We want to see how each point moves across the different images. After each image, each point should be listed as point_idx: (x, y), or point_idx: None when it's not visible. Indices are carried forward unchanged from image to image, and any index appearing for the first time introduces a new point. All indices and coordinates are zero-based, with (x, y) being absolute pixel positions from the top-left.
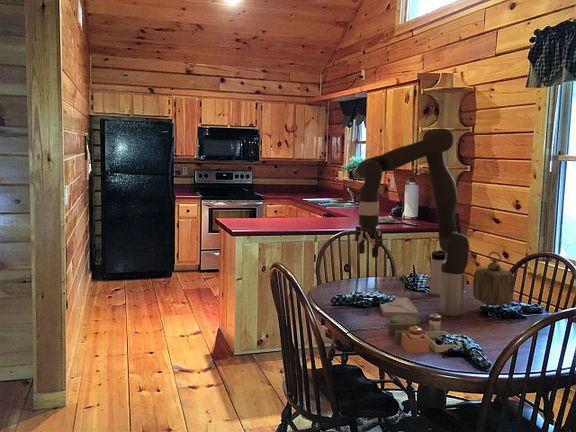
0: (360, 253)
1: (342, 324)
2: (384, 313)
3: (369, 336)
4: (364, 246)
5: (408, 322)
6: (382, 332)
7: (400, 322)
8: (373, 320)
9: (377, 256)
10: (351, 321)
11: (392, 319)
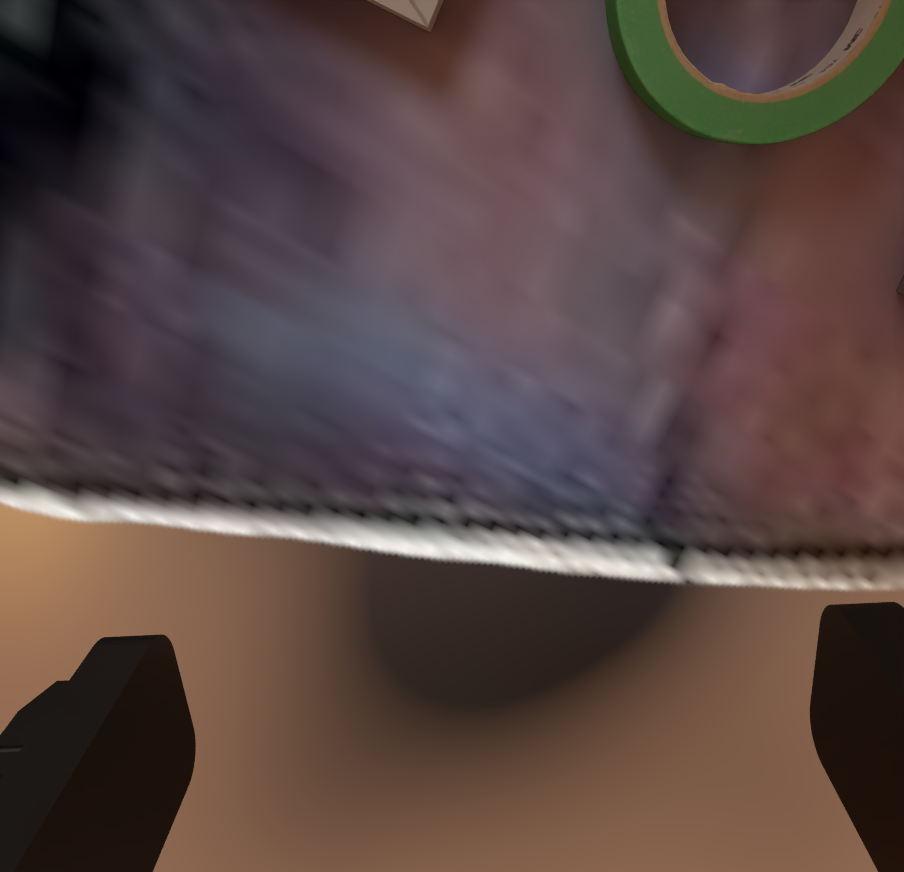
0: (191, 744)
1: (502, 518)
2: (431, 26)
3: (831, 468)
4: (58, 798)
5: (882, 15)
6: (812, 324)
7: (833, 100)
8: (509, 219)
9: (895, 611)
10: (462, 418)
11: (715, 122)
